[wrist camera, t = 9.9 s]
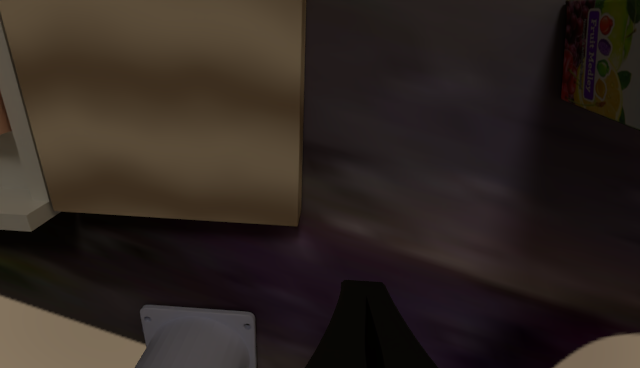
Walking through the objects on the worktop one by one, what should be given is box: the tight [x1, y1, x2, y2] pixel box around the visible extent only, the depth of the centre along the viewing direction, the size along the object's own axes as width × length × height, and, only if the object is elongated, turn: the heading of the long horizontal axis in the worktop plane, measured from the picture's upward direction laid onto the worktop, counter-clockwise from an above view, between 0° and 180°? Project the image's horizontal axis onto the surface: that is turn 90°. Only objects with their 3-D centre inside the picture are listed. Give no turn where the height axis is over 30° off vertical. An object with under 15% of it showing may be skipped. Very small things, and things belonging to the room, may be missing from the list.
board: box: [0, 0, 306, 226], centre depth 19 cm, size 14×14×2 cm
